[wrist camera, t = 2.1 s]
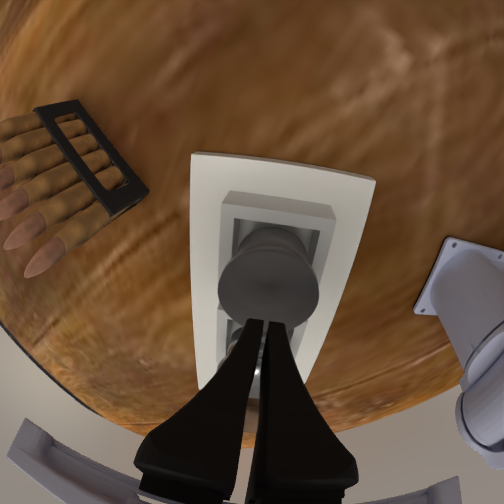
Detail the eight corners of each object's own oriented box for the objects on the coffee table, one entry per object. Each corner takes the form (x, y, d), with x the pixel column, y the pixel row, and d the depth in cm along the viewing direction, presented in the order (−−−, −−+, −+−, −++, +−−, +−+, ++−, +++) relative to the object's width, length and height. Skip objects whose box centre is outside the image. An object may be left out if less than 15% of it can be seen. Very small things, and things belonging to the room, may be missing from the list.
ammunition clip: (66, 115, 16) (-53, 153, 6) (77, 98, 16) (-48, 128, 5) (135, 205, 20) (33, 298, 10) (150, 191, 19) (41, 283, 9)
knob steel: (296, 325, 20) (296, 365, 16) (283, 366, 22) (281, 401, 19) (226, 316, 20) (216, 354, 17) (224, 357, 22) (216, 392, 19)
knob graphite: (322, 227, 15) (330, 261, 12) (304, 297, 18) (306, 337, 15) (233, 214, 16) (219, 245, 13) (228, 286, 18) (216, 324, 15)
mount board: (370, 176, 17) (388, 193, 14) (295, 395, 31) (294, 420, 27) (196, 151, 17) (177, 162, 14) (200, 381, 31) (194, 405, 28)
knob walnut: (278, 382, 24) (275, 415, 20) (270, 406, 26) (267, 434, 23) (223, 374, 24) (216, 407, 21) (222, 399, 26) (216, 427, 23)
